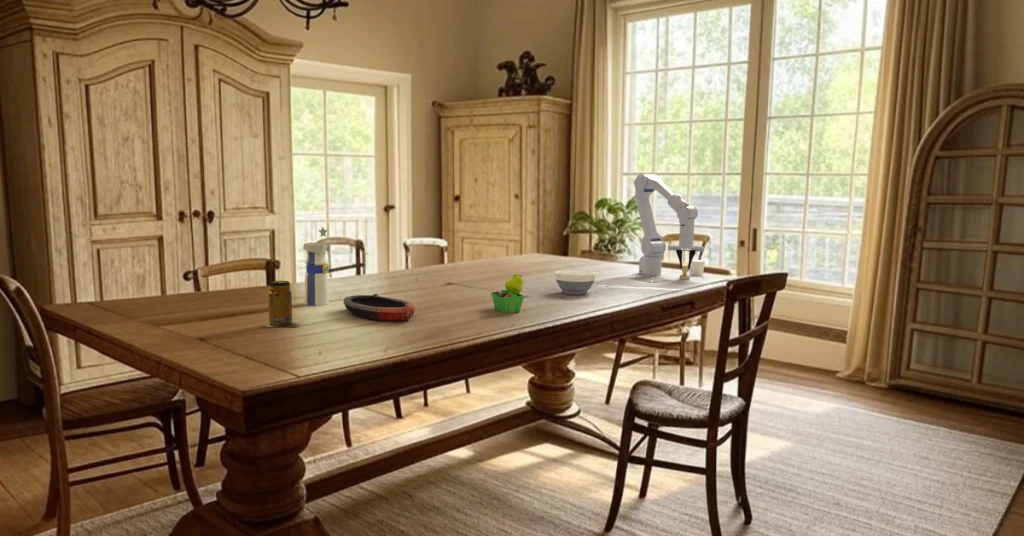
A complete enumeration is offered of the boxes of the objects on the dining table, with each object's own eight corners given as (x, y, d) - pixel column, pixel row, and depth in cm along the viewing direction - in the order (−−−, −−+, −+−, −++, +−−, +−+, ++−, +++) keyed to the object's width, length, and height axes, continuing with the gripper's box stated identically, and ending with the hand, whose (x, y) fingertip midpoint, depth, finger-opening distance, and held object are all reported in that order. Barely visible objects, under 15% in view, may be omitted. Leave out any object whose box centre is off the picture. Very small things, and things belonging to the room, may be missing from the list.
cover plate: (627, 280, 294) (627, 278, 294) (653, 278, 301) (653, 276, 301) (651, 285, 282) (651, 282, 282) (677, 283, 289) (677, 280, 289)
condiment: (271, 322, 200) (270, 279, 199) (302, 322, 201) (301, 279, 199) (264, 327, 193) (263, 283, 191) (297, 327, 194) (296, 283, 192)
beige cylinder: (687, 277, 309) (688, 260, 308) (688, 275, 316) (689, 259, 315) (703, 277, 307) (704, 261, 306) (704, 275, 314) (705, 260, 313)
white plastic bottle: (335, 302, 234) (334, 225, 231) (322, 306, 226) (320, 227, 222) (313, 300, 236) (312, 224, 233) (299, 304, 228) (297, 226, 225)
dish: (374, 306, 229) (374, 290, 228) (431, 321, 206) (431, 303, 206) (330, 311, 218) (329, 295, 218) (385, 327, 196) (384, 309, 195)
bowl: (581, 297, 250) (581, 276, 249) (546, 293, 258) (547, 272, 257) (602, 293, 261) (602, 272, 260) (568, 288, 270) (569, 268, 269)
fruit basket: (489, 307, 228) (489, 272, 227) (515, 306, 231) (516, 271, 230) (501, 314, 217) (502, 277, 216) (528, 312, 220) (529, 276, 219)
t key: (689, 281, 291) (690, 266, 290) (679, 281, 291) (680, 265, 291) (689, 279, 299) (690, 263, 299) (679, 278, 300) (680, 263, 299)
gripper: (668, 235, 291) (666, 268, 292) (705, 236, 288) (703, 270, 289) (668, 234, 298) (667, 266, 299) (704, 235, 294) (703, 268, 296)
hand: (685, 268), depth 295 cm, fingers closed on t key, 2 cm apart
